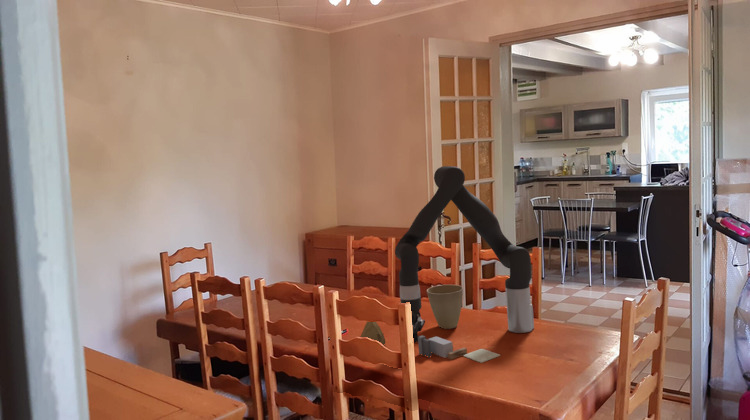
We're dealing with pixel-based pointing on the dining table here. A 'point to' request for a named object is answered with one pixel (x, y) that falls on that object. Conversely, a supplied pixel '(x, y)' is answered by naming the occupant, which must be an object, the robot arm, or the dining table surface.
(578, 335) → the dining table surface
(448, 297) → the plant pot
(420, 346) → the grey stepped block
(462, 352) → the clamp rails
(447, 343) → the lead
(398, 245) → the robot arm
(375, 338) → the rock
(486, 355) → the mat
